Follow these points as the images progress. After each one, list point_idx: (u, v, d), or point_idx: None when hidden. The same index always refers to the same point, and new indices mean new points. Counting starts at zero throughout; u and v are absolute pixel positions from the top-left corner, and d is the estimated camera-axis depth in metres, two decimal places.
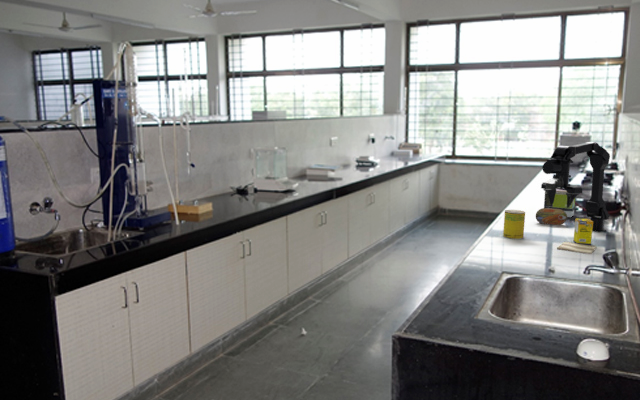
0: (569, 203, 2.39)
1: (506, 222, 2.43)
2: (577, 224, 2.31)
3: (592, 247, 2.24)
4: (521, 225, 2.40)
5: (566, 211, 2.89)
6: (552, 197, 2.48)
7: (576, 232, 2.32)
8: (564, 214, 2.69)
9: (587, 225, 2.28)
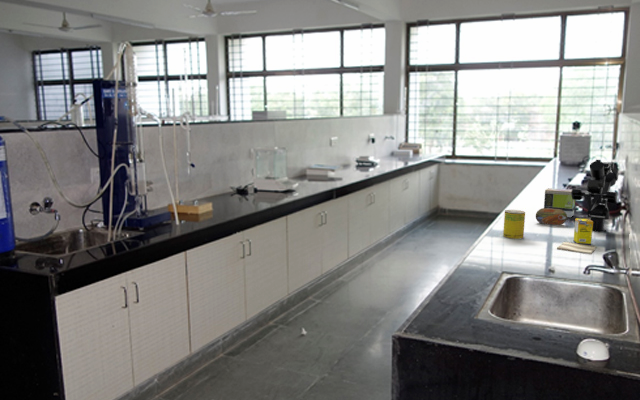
0: (593, 206, 2.40)
1: (506, 222, 2.43)
2: (577, 224, 2.31)
3: (592, 247, 2.24)
4: (521, 225, 2.40)
5: (566, 211, 2.89)
6: None
7: (576, 232, 2.32)
8: (564, 214, 2.69)
9: (587, 225, 2.28)
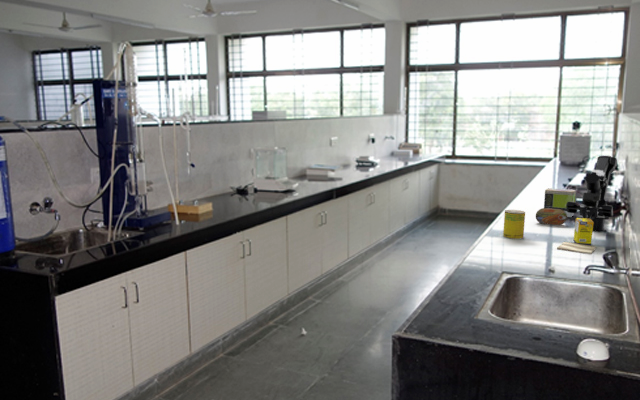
0: None
1: (506, 222, 2.43)
2: (577, 224, 2.30)
3: (592, 247, 2.24)
4: (521, 225, 2.40)
5: (566, 211, 2.89)
6: None
7: (576, 232, 2.31)
8: (564, 214, 2.69)
9: (587, 225, 2.28)
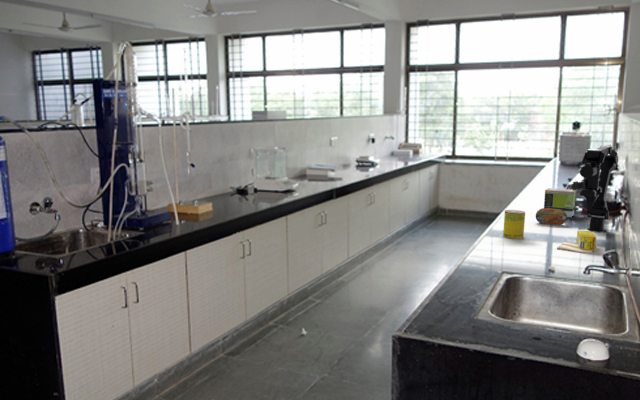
0: (588, 205, 2.44)
1: (506, 222, 2.43)
2: (579, 243, 2.22)
3: None
4: (521, 225, 2.40)
5: (566, 211, 2.89)
6: None
7: (578, 241, 2.26)
8: (564, 214, 2.69)
9: None
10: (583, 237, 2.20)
